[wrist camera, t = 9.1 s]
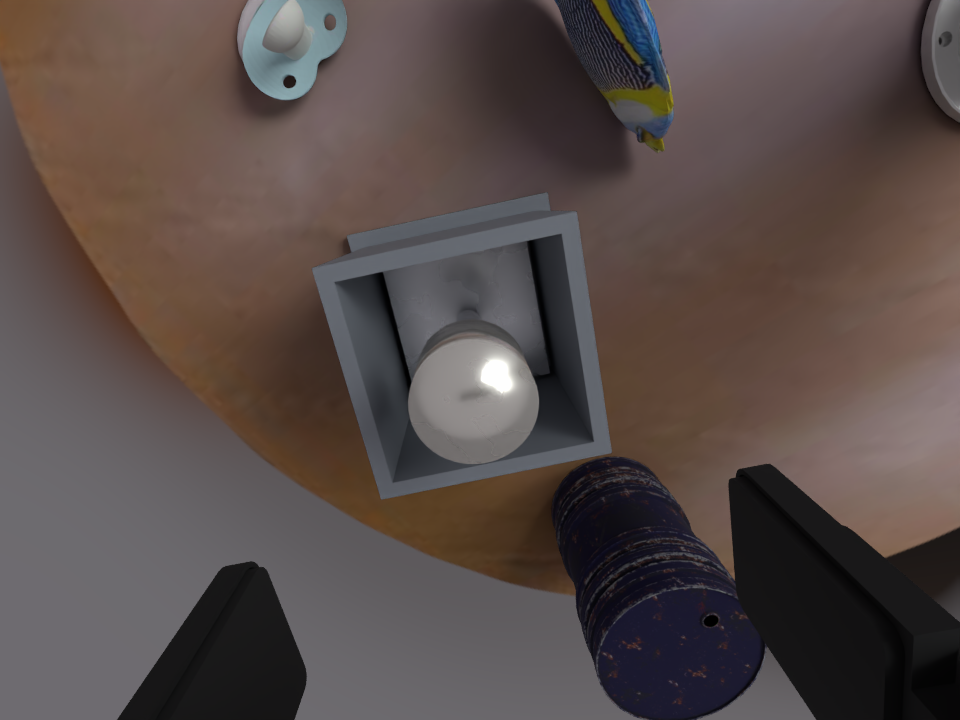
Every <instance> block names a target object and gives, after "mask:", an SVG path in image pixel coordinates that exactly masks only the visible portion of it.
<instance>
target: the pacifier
mask: <svg viewBox="0 0 960 720" xmlns="http://www.w3.org/2000/svg"><path fill="white" fill-rule="evenodd" d="M328 15H333V16H334V17H335V19H336V26H335V28H334V29H333V30H331V31H330V30H327V29H326V28H325V25H324V21H325V18H326V17H327V16H328ZM346 31H347V16H346V11H345V8H344V5H343V2H342V0H248V2H247V4H246V6H245V8H244V10H243V12H242V15H241V18H240V21H239V25H238V34H237V42H238V50H239V54H240V56H241V58H242V61H243V63H244V66H245V69H246V71H247V74H248V76H249V77H250V79H251V81H252V82H253V83H254V85H255V86H256V87H257V88H258V89H260V90H261V91H262V92H263V93H265V94H267V95H268V96H270V97H273V98H275V99H279V100H295V99H298V98H300V97H302V96H304V95H305V94H306V93H308V91H309V90H310V89H311V88H312V86H313V84H314V82H315V80H316V76H317V68H318V64H319V63H320V61H321V60H323V59H326V58H329V57H330V56H332V55H333V54H334V53H335V52H336V51H337V50H338V49H339V48H340V47H341V45H342V43H343V41H344V39H345V35H346ZM287 76H294V77H295V79H296V85H295V86H294V87H293V88H286V87H285V86H284V84H283V80H284V78H285V77H287Z"/></svg>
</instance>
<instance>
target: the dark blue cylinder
mask: <svg viewBox="0 0 960 720" xmlns="http://www.w3.org/2000/svg"><path fill="white" fill-rule="evenodd" d="M552 520H553V525H554V528H555V530H556V539H557V544H558V547H559V551H560V553H561V556H562V559H563V563H564V565H565V568H566V570H567V572H568V575H569V576H570V578H571V579H572V581H573V582H574V585H575V589H576V608H577V613H578V617H579V620H580V622H581V625H582V631H583V634H584V638H585V641H586V644H587V646H588V649H589V651H590V653H591V656H592V658H593V661H594V665H595V669H596V672H597V676H598V680H599V682H600V684H601V687H602V689H603V691H604V692H605V694H606V695H607V697H608V698H609V699H610V700H611V701H612V702H613V703H614V704H615V705H616V706H617V707H619V708H620V709H621V710H623V711H624V712H626V713H628V714H630V715H632V716H634V717H637V718H640V719H643V720H696V719H699V718H702V717H705V716H709V715H711V714H713V713H715V712H718V711H720V710H722V709H723V708H725V707H727V706H728V705H730V704H732V703H733V702H734V701H735V700H737V699H738V698H739V697H741V696H742V695H743V694H744V692H746V690H747V689H748V688H749V687H750V686H751V685H752V683H753V682H754V681H755V679H756V678H757V676H758V674H759V672H760V670H761V669H762V666H763V663H764V660H765V656H766V648H767V645H766V644H765V642H764V641H763V639H762V638H761V636H760V635H759V633H758V632H757V630H756V629H755V627H754V626H753V624H752V623H751V621H750V620H749V618H748V617H747V615H746V614H745V612H744V611H743V609H742V607H741V605H740V603H739V600H738V597H737V593H736V584H735V581H734V579H733V578H732V577H731V575H730V574H729V573H728V571H727V570H726V569H725V567H724V566H723V565H722V564H721V562H720V560H719V558H718V557H717V556H716V554H715V553H714V552H713V551H712V550H711V549H710V548H709V547H708V546H707V545H706V544H704V543H703V542H702V541H701V540H700V539H699V538H697V537H696V536H695V535H694V533H693V532H692V530H691V527H690V523H689V521H688V519H687V517H686V515H685V513H684V511H683V509H682V508H681V507H680V505H679V504H678V503H677V501H676V500H675V499H674V497H673V496H672V495H671V493H670V492H669V491H668V490H667V488H666V487H664V486H663V485H662V484H661V482H660V481H659V479H658V478H657V477H656V476H655V474H654V473H653V472H652V471H651V470H650V469H649V468H647V467H646V466H644V465H643V464H641V463H639V462H637V461H634V460H632V459H628V458H624V457H603V458H599V459H595V460H592V461H589V462H586V463H585V464H583V465H581V466H579V467H577V468H576V469H575V470H573V471H572V472H571V473H570V474H569V475H568V476H566V477H565V479H564V480H563V481H562V482H561V484H560V485H559V487H558V489H557V491H556V492H555V495H554V498H553V502H552Z"/></svg>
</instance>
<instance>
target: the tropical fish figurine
mask: <svg viewBox="0 0 960 720" xmlns="http://www.w3.org/2000/svg"><path fill="white" fill-rule="evenodd" d="M555 2H556V4H557V5H558V7H559V9H560V12H561V15H562V18H563V21H564V24H565V27H566V30H567V33H568V36H569V38H570V41H571V43H572V45H573V48H574V50H575V52H576V54H577V56H578V58H579V60H580V62H581V64H582V66H583V67H584V69H585V71H586V72H587V74H588V75H589V77H590V78H591V80H592V81H593V83H594V84H595V85H596V87H597V88H598V89H599V91H600V92H601V93H602V94H603V96H604V97H605V98H606V99H607V102H608V104H609V106H610V108H611V109H612V111H613V113H614V114H615V115H616V117H617V118H618V119H619V120H620V121H621V122H622V123H623V125H624V126H625V127H626V128H627V129H629V130H630V131H632V132H634V133H635V134H637V140H638V142H640V143H644V142H645V143H646V144H647V145H648V146H649V147H650V148H651V149H653V150H654V151H655V152H657V153H659V152H660V151H664V143H663V139H662V138H663V137H664V135H665V134H666V133H667V130H668V128H669V126H670V125H671V122H672V120H673V116H674V111H673V106H674V104H673V98H672V92H671V85H670V79H669V76H668V73H667V69H666V66H665V63H664V60H663V57H662V49H661V44H660V40H659V36H658V32H657V28H656V24H655V20H654V16H653V13H652V11H651V9H650V7H649V4H648V2H647V0H555Z"/></svg>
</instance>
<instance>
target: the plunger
mask: <svg viewBox="0 0 960 720" xmlns="http://www.w3.org/2000/svg"><path fill="white" fill-rule="evenodd" d="M383 274H384V278H385V282H386V286H387V289H388V293H389V297H390V301H391V305H392V309H393V313H394V316H395V320H396V324H397V328H398V332H399V336H400V339H401V343H402V347H403V351H404V355H405V359H406V362H407V366H408V370H409V374H410V378H411V382H412V384H411V387H410V391H409V398H408V411H409V416H410V420H411V423H412V426H413V428H414V430H415V432H416V434H417V435H418V436H419V438H420V439H421V441H422V442H423V443H424V444H425V445H426V446H427V447H428V448H429V449H431V450H432V451H433V452H435V453H436V454H438V455H439V456H441V457H443V458H445V459H448V460H451V461H454V462H458V463H463V464H482V463H488V462H492V461H495V460H498V459H500V458H503V457H505V456H506V455H508V454H510V453H511V452H513V451H514V450H516V449H517V448H518V447H519V446H520V445H521V444H522V443H523V442H524V441H525V440H526V438H527V437H528V436H529V434H530V432H531V431H532V429H533V427H534V425H535V422H536V419H537V415H538V409H539V396H538V390H537V386H536V383H535V381H534V378H533V377H534V376H539V375H544V374H548V373H550V371H549V366H548V360H547V354H546V349H545V343H544V337H543V332H542V326H541V320H540V315H539V309H538V303H537V297H536V292H535V286H534V280H533V275H532V269H531V263H530V258H529V252H528V246H527V241H524V242H519V243H515V244H510V245H505V246H501V247H496V248H491V249H487V250H482V251H477V252H472V253H468V254H463V255H458V256H454V257H449V258H444V259H440V260H435V261H430V262H426V263H421V264H416V265H412V266H407V267H402V268H398V269H393V270H388V271H384V272H383Z"/></svg>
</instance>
